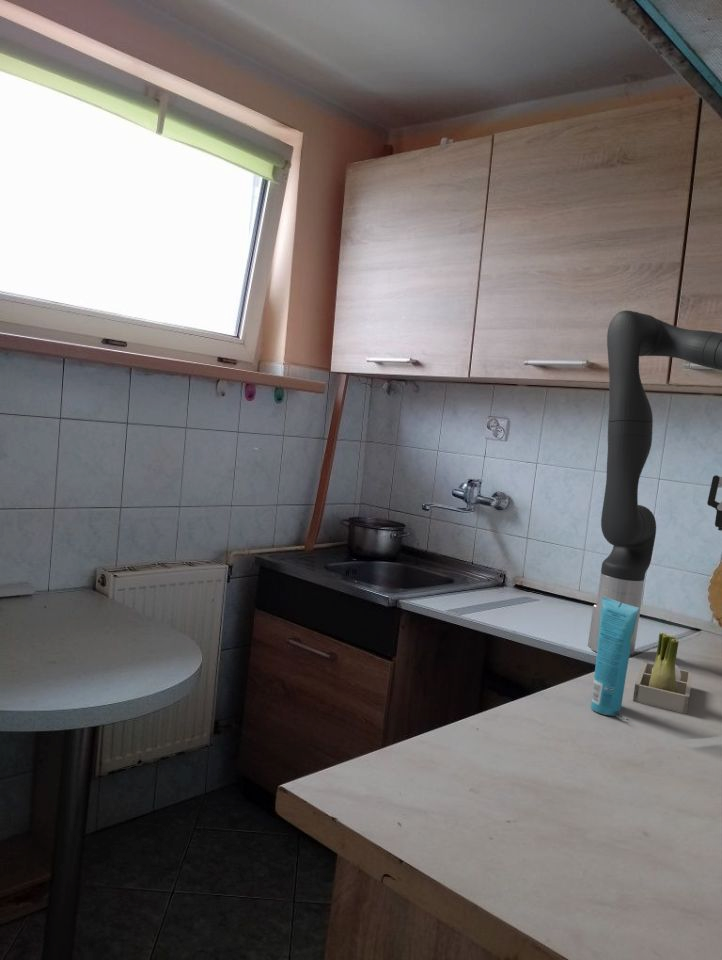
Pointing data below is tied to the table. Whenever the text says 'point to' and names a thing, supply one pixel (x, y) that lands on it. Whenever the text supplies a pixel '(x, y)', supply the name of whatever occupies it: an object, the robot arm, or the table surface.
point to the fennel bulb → (665, 664)
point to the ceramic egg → (676, 673)
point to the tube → (612, 655)
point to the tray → (662, 691)
